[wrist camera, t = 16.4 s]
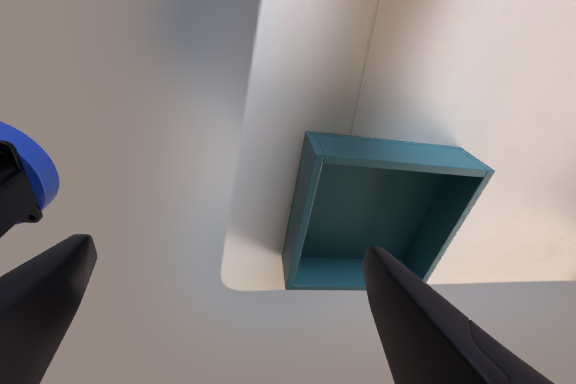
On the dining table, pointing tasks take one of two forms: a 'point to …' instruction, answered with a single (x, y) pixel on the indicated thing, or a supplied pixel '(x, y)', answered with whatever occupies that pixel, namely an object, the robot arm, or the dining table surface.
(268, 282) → the dining table surface
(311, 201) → the bin
